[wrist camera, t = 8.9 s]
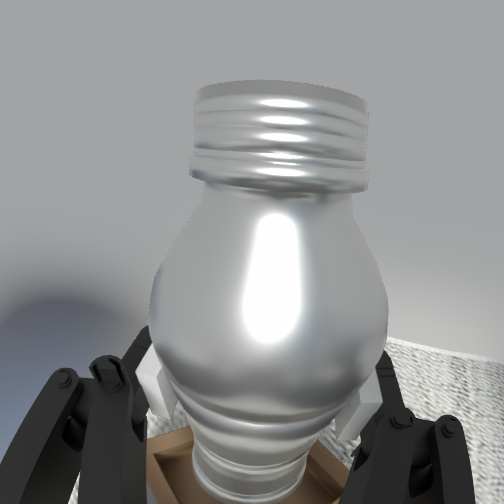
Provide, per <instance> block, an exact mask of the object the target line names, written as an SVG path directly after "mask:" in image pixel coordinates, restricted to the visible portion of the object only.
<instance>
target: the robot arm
mask: <svg viewBox="0 0 504 504" xmlns="http://www.w3.org/2000/svg"><path fill="white" fill-rule="evenodd" d="M393 368H394V367H393V364H392V361H391V358H390V357H389V355H388V354H387V353H386V352H385V351H384V350H383V353H382V356H381V358H380V360H379V361H378V363H377V364H376V366H375V368H374V369H373V371H372V373H371V374H370V376H369V378H368V379H367V380H366V382H365V383H364V384H363V386H362V387H361V388H360V389H359V391H358V392H357V393H356V394H355V395H354V396H353V397H352V399H351V400H350V401H349V402H348V403H347V404H346V405H345V407H344V408H343V409H342V410H341V411H340V412H339V413H338V414H337V416H336V417H335V425H336V441H349V440H356V438H357V437H358V436H359V435H360V437H361V443H360V444H359V445H358V447H357V448H356V449H355V450H354V451H353V452H352V454H351V456H350V457H353V456H354V455H355V457H354V460H353V463H352V466H351V469H350V472H349V475H348V478H347V481H346V484H345V487H344V489H343V492H342V495H341V497H340V500H339V502H338V504H475V494H474V485H473V477H472V471H471V465H470V459H469V454H468V449H467V444H466V440H465V435H464V431H463V427H462V425H461V422H460V421H459V420H458V419H457V418H456V417H454V416H452V415H443V416H441V417H440V418H439V419H438V420H437V421H436V422H434V421H428V420H423V419H419V418H416V417H415V415H414V414H413V412H412V411H411V410H409V409H408V408H406V407H405V405H404V403H403V399H402V395H401V391H400V388H399V384H398V381H397V377H396V374H395V371H394V369H393ZM89 369H90V371H91V373H92V375H93V376H94V379H92V378H80V377H79V376H78V374H77V373H76V371H74V370H73V369H71V368H60V369H58V370H57V371H55V372H54V373H53V374H52V376H51V377H50V378H49V380H48V381H47V383H46V384H45V386H44V387H43V389H42V391H41V392H40V394H39V395H38V397H37V398H36V400H35V402H34V403H33V405H32V407H31V408H30V410H29V412H28V413H27V415H26V417H25V418H24V420H23V422H22V424H21V425H20V427H19V429H18V431H17V433H16V434H15V436H14V438H13V440H12V442H11V444H10V446H9V448H8V450H7V452H6V454H5V456H4V458H3V460H2V462H1V464H0V504H68V502H69V499H70V496H71V493H72V491H73V488H74V485H75V483H76V480H77V477H78V475H79V472H80V478H79V488H78V503H77V504H147V487H146V452H147V424H148V421H147V417H146V413H147V411H148V409H149V407H150V410H151V412H152V414H154V415H157V416H160V417H164V418H167V419H171V416H172V414H173V412H174V409H175V407H176V404H177V402H178V398H177V396H176V394H175V392H174V390H173V388H172V386H171V384H170V382H169V380H168V378H167V376H166V374H165V372H164V370H163V368H162V366H161V364H160V362H159V360H158V358H157V355H156V352H155V349H154V346H153V343H152V340H151V337H150V333H149V327H148V325H147V326H146V327H145V328H143V329H142V330H141V331H140V333H139V334H138V336H137V337H136V339H135V340H134V342H133V343H132V346H130V348H129V349H128V351H127V352H126V354H125V355H124V357H123V358H122V360H121V359H119V358H118V357H116V356H112V355H105V356H101V357H99V358H96V359H95V360H94V361H93V362H92V363H91V365H90V366H89Z"/></svg>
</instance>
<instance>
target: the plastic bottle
mask: <svg viewBox="0 0 504 504" xmlns="http://www.w3.org/2000/svg"><path fill="white" fill-rule="evenodd" d="M194 112H195V113H194V152H192V153H190V154H189V174H190V175H191V176H192V177H194V178H196V179H199V180H203V181H204V186H203V193H202V199H201V203H200V204H199V205H198V207H197V208H196V210H195V211H194V212H193V214H192V215H191V216H190V218H189V219H188V221H187V222H186V224H185V225H184V226H183V228H182V229H181V231H180V232H179V233H178V235H177V237H176V238H175V239H174V241H173V242H172V244H171V246H170V248H169V249H168V251H167V253H166V255H165V257H164V259H163V261H162V263H161V265H160V267H159V269H158V271H157V273H156V275H155V277H154V281H153V286H152V292H151V297H150V304H149V311H148V317H147V320H148V327H149V333H150V337H151V340H152V343H153V346H154V349H155V352H156V355H157V358H158V360H159V362H160V364H161V366H162V368H163V370H164V372H165V374H166V376H167V378H168V380H169V382H170V384H171V386H172V388H173V390H174V392H175V394H176V396H177V398H178V399H179V401H180V403H181V405H182V407H183V409H184V410H185V413H186V416H187V419H188V421H189V424H190V427H191V429H192V432H193V436H194V446H193V452H192V468H193V473H194V475H195V478H196V480H197V482H198V483H199V485H200V486H201V488H202V489H203V490H204V491H205V492H206V493H207V494H208V495H209V496H211V497H213V498H214V499H216V500H217V501H219V502H221V503H224V504H277V503H279V502H281V501H283V500H284V499H286V498H287V497H289V496H290V495H291V494H292V493H293V492H294V491H295V490H296V489H297V487H298V486H299V484H300V483H301V480H302V478H303V475H304V472H305V468H306V460H307V455H308V453H309V450H310V448H311V447H312V445H313V444H314V443H315V442H316V440H317V439H318V438H319V436H320V435H321V433H322V432H323V431H324V429H325V428H326V426H327V425H328V424H329V423H330V422H331V421H332V420H333V419H334V418H335V417H336V416H337V414H338V413H339V412H340V411H341V410H342V409H343V408H344V407H345V405H346V404H347V403H348V402H349V401H350V400H351V399H352V397H353V396H354V395H355V394H356V393H357V392H358V391H359V389H360V388H361V387H362V386H363V384H364V383H365V382H366V380H367V379H368V378H369V376H370V374H371V373H372V371H373V369H374V368H375V366H376V364H377V363H378V361H379V360H380V358H381V356H382V353H383V350H384V347H385V344H386V338H387V326H388V298H387V294H386V291H385V288H384V285H383V282H382V279H381V276H380V272H379V269H378V266H377V263H376V261H375V259H374V257H373V254H372V252H371V250H370V248H369V246H368V244H367V242H366V240H365V238H364V236H363V234H362V232H361V230H360V228H359V226H358V224H357V223H356V220H355V219H354V217H353V214H352V193H358V192H363V191H365V190H367V187H368V179H369V167H367V166H365V160H366V149H367V135H368V119H369V113H368V112H367V102H366V101H365V100H363V99H361V98H360V97H358V96H355V95H352V94H350V93H347V92H344V91H341V90H337V89H333V88H329V87H324V86H319V85H314V84H308V83H300V82H291V81H277V80H247V81H233V82H224V83H218V84H214V85H208V86H206V87H203V88H200V89H199V90H197V99H196V100H195V109H194Z"/></svg>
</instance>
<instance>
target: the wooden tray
mask: <svg viewBox="0 0 504 504" xmlns="http://www.w3.org/2000/svg"><path fill="white" fill-rule="evenodd" d="M193 446H194V436H193V432H192V429H191V427H190V426H187V427H184V428H181V429H178V430H175V431H172V432H169V433H166V434H163V435H159V436H156V437H153V438H149V439H147V452H146V481H147V483H148V485H149V487H150V489H151V491H152V493H153V495H154V497H155V499H156V501H157V503H158V504H224V503H221V502H219V501H217V500H216V499H214V498H213V497H211V496H209V495H208V494H207V493H206V492H205V491H204V490H203V489H202V488H201V486H200V485H199V483H198V482H197V480H196V478H195V475H194V473H193V468H192V452H193ZM349 472H350V470H349V469H348V468H347V467H345V466H344V465H343V464H342V463H341V462H340V461H339V460H338V459H337V458H336V457H335V456H334V455H333V454H332V453H331V452H330V451H329V450H328V449H327V448H326V447H325V446H323V445H322V444H321V443H320V442H319V441H318V440H316V442H315V443H314V444H313V445H312V447H311V448H310V450H309V453H308V455H307V460H306V468H305V472H304V475H303V478H302V480H301V483H300V484H299V486H298V487H297V489H296V490H295V491H294V492H293V493H292V494H291V495H290V496H289V497H287V498H286V499H284V500H283V501H281V502H279V503H277V504H338V502H339V500H340V497H341V495H342V492H343V489H344V487H345V484H346V481H347V478H348V475H349Z"/></svg>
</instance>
